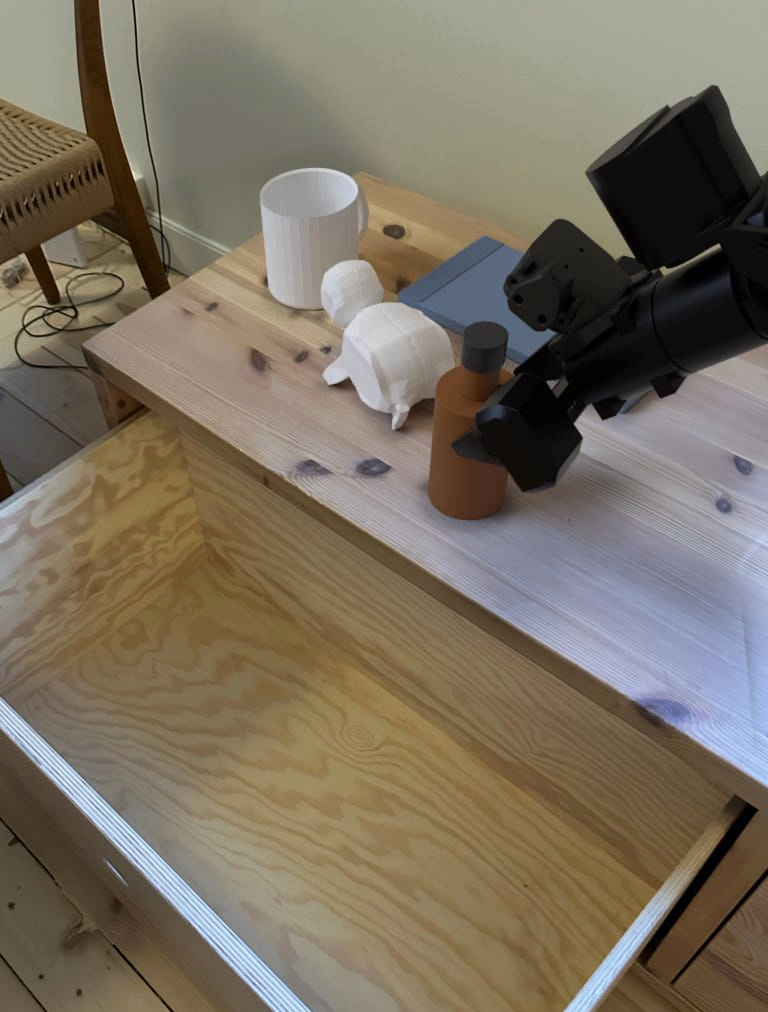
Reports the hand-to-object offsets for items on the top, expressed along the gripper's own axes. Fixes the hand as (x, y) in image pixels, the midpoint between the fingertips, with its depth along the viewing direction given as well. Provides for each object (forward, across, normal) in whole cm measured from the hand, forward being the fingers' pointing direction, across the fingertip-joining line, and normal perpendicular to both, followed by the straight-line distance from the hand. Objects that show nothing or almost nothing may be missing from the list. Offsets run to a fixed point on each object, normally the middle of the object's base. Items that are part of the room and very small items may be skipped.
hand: (486, 411), depth 64 cm
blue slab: (+10, -23, +2) cm, 25 cm away
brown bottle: (+6, 0, +5) cm, 8 cm away
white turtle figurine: (+16, -8, -4) cm, 19 cm away
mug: (+26, -19, -13) cm, 35 cm away
